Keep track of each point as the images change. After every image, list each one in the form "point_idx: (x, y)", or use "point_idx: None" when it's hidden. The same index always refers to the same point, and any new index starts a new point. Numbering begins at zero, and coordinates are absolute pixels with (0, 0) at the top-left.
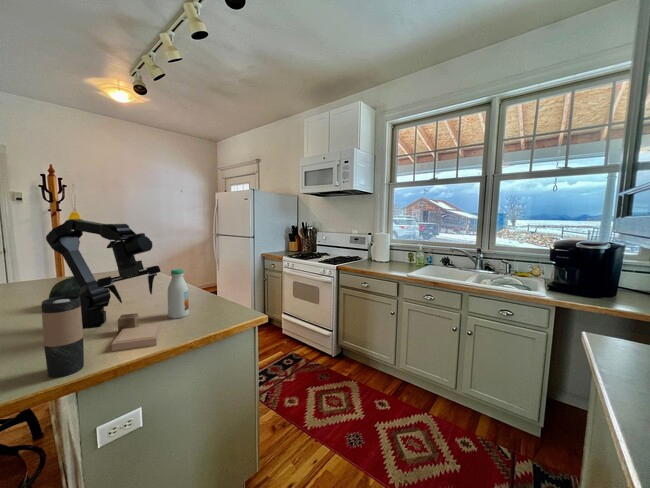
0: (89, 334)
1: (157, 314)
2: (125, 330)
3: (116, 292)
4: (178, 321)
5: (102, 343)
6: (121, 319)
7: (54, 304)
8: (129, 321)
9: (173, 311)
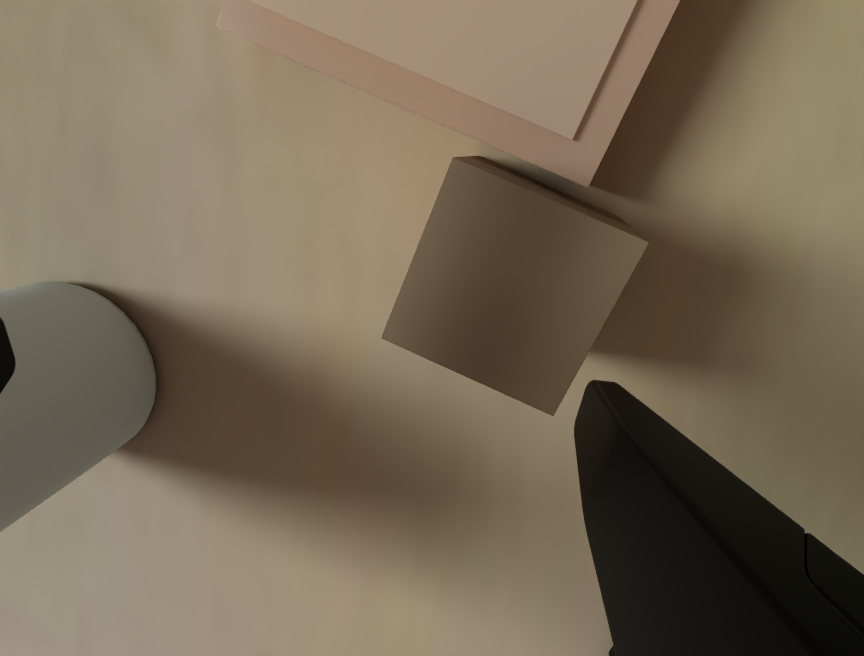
0: (802, 446)
1: (231, 522)
2: (582, 87)
3: (799, 585)
4: (98, 210)
5: (791, 102)
6: (603, 222)
7: None
8: (515, 181)
9: (65, 329)
